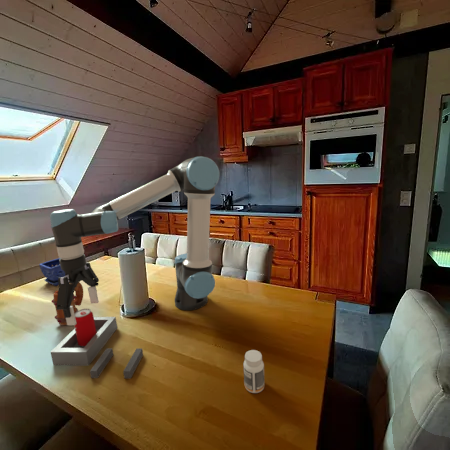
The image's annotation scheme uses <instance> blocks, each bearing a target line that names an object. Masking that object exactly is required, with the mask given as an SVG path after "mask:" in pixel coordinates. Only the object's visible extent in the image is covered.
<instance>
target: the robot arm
mask: <svg viewBox="0 0 450 450" xmlns="http://www.w3.org/2000/svg"><path fill="white" fill-rule="evenodd" d="M219 169H220V168H219V167H218V164H217V163H216V162H215V161H214V160H213V159H212V158H209V157H207V156H202V155H201V156H195V157H189V158H187V159H185V160H183V161H182V162H181V163H179V164H178V165H176V166H174V167H173V168H170V169H169V170H168V171H167V173H166V174H164V175H162V176H160V177H158V178H156V179H154V180H152V181H150V182H148V183H146V184H144V185H141V186H140V187H137V188H136V189H133V190H132V191H130V192H127V193H126V194H123V195H121V196H119V197H117V198H115V199H113V200H111V201H109V202H107V203H105V204H103V205H100V206H97V207H95V208H94V209H93V210H92V211H91V212H90V213H84V214H79V213H77V211H76V209H74V208H67V209H60V210H54V211H52V212H51V213H50V215H49V220H50V228H51V231H52V235H53V238H54V242H55V247H56V251H57V256H58V258H60V260H59V262H60V264H59V265H60V266H61V269H62V270H63V271H64V272H65V276H64V277H59V278H58V283H59V285H58V288H57V289H58V290H57V291H58V297H57V307H56V308H55V310H56V309H57V310H63V313H64V317H65V318H66V322H67V325H66V326H74V325H76V324H77V323H76V319H75V314H74V310H73V306H71V302H72V298H73V294H74V293H75V291H74V290H75V287H76V286H77V284H78V283H80V282H81V281H82V282H83V283H85V284H86V285H87V286H88V287H87V292H88V297H89V300H90V301H89V302H90V304H99V302H100V301H99V297H98V290H97V287H98V286H99V281H100V280H99V277H98V276H97V275H96V273H95V271H94V270H93V268H92V267H91V266H92V265H91V262H89V261H87V259H86V258H87V257H86V255H85V254H84V253H85V249H84V244H83V240H82V238H87V237H91V236H100V235H105V234H106V235H110V234H112V233H117V232H118V231H119V223H118V221H119V220H121V219H122V218H125V217H127V216H130V214H133V213H135V212H137V211H138V210H141V209H143V208H145V207H147V206H148V205H150V204H152V203H155V202H157V201H158V200H161V199H163V198H165V197H166V196H169V195H171V194H172V193H174V192H179V193H180V192H181V191H183V193H184V195H185V196H186V197H187V219H186V221H187V222H186V224H187V226H186V229H187V231H186V237H187V238H186V253H181V254H179V255H176V256H175V258H174V267H175V275H176V276H175V277H176V287H177V288H176V293H175V296H174V305H175V308H177V309H179V310H182V311H194V310H199V309H200V308H203V307H204V306H206V305H207V303H208V298H209V297H208V296H209V295H210V294H211V293H212V292H213V291H214V289H215V286H216V280H215V277H214V275H213V274H212V273H213V261H212V260H211V259H210V258H209V253H210V252H209V250H210V228H211V227H210V225H211V224H210V223H211V222H210V221H211V216H210V215H211V199H212V198H213V197H214V196H215V194H216V186H217V184H218V183H219V180H220V170H219ZM74 295H75V294H74Z"/></svg>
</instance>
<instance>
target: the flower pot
mask: <svg viewBox="0 0 450 450" xmlns="http://www.w3.org/2000/svg"><path fill="white" fill-rule="evenodd" d="M59 260H60V258H59V257H58V258H55V259H50V260H48V261H45V262H42V263H39V268H40V271H41V273H42V275H43V276H44V277H45V279H44V282H46V283H48V284H51V285H52V286H54V287H55V286H59V283H58V278H59V277H64V276H65V272H64V271H63V270H62V269H61V266H60V262H59Z"/></svg>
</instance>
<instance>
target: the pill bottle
mask: <svg viewBox="0 0 450 450" xmlns="http://www.w3.org/2000/svg"><path fill="white" fill-rule="evenodd" d="M242 365H243V378H244V379H243V384H244V387H245V389H246V391H248V392H249V393H252V394H258V393H261V392H262V391H263V390H264V389H265V363H264V361H263V355H262V353H261V351H258V350H256V349H251V350H248V351H246V352H245V354H244V361H243V364H242Z"/></svg>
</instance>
